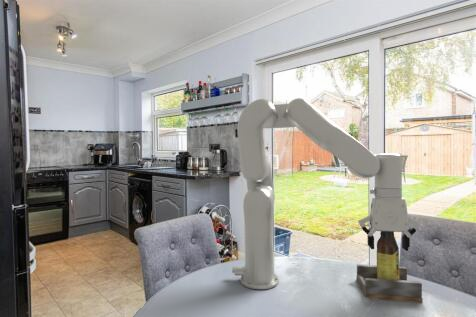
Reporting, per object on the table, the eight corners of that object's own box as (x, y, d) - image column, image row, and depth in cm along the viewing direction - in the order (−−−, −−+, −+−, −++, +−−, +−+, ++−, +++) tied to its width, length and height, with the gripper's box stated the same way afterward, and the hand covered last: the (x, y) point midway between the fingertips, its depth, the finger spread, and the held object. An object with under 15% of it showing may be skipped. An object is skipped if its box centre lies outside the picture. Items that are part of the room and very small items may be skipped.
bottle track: (366, 298, 89) (366, 280, 89) (356, 279, 103) (356, 263, 103) (422, 302, 86) (422, 284, 86) (404, 282, 100) (404, 266, 100)
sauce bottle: (402, 291, 91) (402, 224, 90) (379, 289, 92) (379, 223, 92) (395, 282, 97) (395, 220, 97) (374, 281, 98) (374, 219, 98)
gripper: (361, 194, 92) (361, 251, 92) (423, 195, 89) (423, 254, 89) (356, 191, 99) (356, 244, 100) (413, 192, 96) (413, 246, 96)
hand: (388, 248), depth 94 cm, fingers open, 9 cm apart
